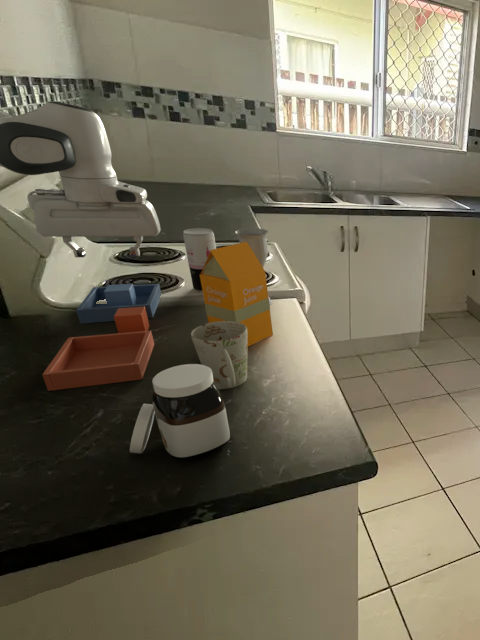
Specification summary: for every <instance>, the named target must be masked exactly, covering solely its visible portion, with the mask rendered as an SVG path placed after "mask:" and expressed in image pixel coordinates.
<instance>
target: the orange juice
mask: <svg viewBox="0 0 480 640" xmlns="http://www.w3.org/2000/svg"><path fill="white" fill-rule="evenodd" d="M200 280H201V285H202V290H203V292H202V296H203V300H204V308H205V313H206V318H207V323H211V322H218V321H235V322H240V323H242V324H244V325H245V326H246V327H247V348H248V347H250V346H252V345H254V344H256V343H259V342H261V341H263V340H264V339H267V338H269V337H271V336H273V334H274V333H273V332H274V331H273V324H272V316H271V305H270V304H269V298H270V297H269V298H268V296H269V292H268V284H267V283H268V282H267V275H266V270H265V269H264V267H262V265H261V264H260V262H259V261H258V259H257V257H256V256H255V254H254V253H253V251H252V249H251V248H250V246H249V245H248V243H247V242H243V243H234V244H231V245H226V246H222V247H218V248H217V247H216V249H213V250H210V253H209V256H208V258H207V260H206V263H205V265H204V267H203V270H202V272H201V274H200Z"/></svg>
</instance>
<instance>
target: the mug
mask: <svg viewBox="0 0 480 640" xmlns="http://www.w3.org/2000/svg"><path fill="white" fill-rule="evenodd" d="M190 338H191V341H192V343H193V345H194V346H193V347H194V349H195V351H196V355H197V357H198V360H199V362H200V365H205V366H207V367H209V368H210V369H211V370H212V374H213V382H214V383H215V384H216V386H217V387H218V389H219V390H227V389H233V388H237V387H239V386H242V385H243V384H244V383H245V382H246V381H247V380H248V347H247V327H246V326H245V325H244V324H242V323H240V322H235V321H218V322H211V323H208V322H207V323H204V324H201V325H199V326H196V327H195V328H193V329H192V330H191V333H190Z"/></svg>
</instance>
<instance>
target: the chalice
mask: <svg viewBox="0 0 480 640" xmlns="http://www.w3.org/2000/svg"><path fill="white" fill-rule="evenodd" d="M235 234H236V235H237V237H238V241H239V243H243V242H247V243H248V245H249V246H250V248H251V249H252V251H253V253H254V254H255V256H256V257H257V259H258V261H259V262H260V264H261V265H262V267H263V268H264V266H265V264H266V262H267V260H268V259H267V258H268V255H269V248H268V239H267V238H268V237H267V236H268V234H269V230H267V229H264V228H257V227H256V228H255V227H249V228H248V227H247V228H241V229H238V230H236V231H235ZM239 243H238V244H239ZM268 298H269V304H270V306H271V305H272V304H273V301H272V299H271V298H270V296H269V295H268Z"/></svg>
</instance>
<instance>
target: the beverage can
mask: <svg viewBox="0 0 480 640" xmlns="http://www.w3.org/2000/svg"><path fill="white" fill-rule="evenodd" d="M182 232H183V234H182V236H183V237H182V238H183V242H184V247H185V254H186V258H187V263H188V267H189V268H188V269H189V272H190V277H191V283H192V287H193V290H195V291H197V292H199V293H203V290H202V285H201V280H200V274H201V272H202V270H203V267H204V265H205V263H206V260H207V258H208V256H209V253H210V250H213V249H217V244H216V238H215V233H214V232H213V229H209V228H201V227H199V228H188V229H185V230H183V231H182Z"/></svg>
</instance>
